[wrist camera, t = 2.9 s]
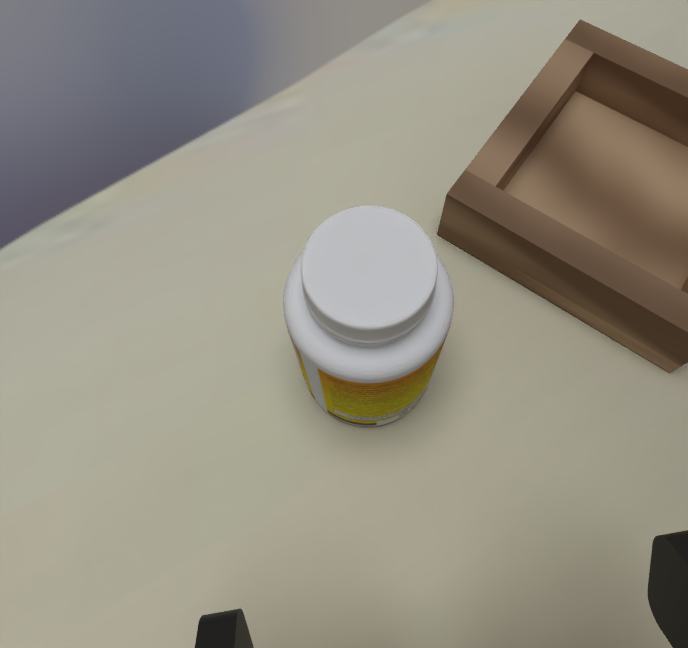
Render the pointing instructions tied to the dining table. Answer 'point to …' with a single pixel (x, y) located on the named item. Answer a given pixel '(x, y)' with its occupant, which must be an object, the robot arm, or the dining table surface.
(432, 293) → the supplement bottle
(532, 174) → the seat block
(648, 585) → the robot arm
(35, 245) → the dining table surface
